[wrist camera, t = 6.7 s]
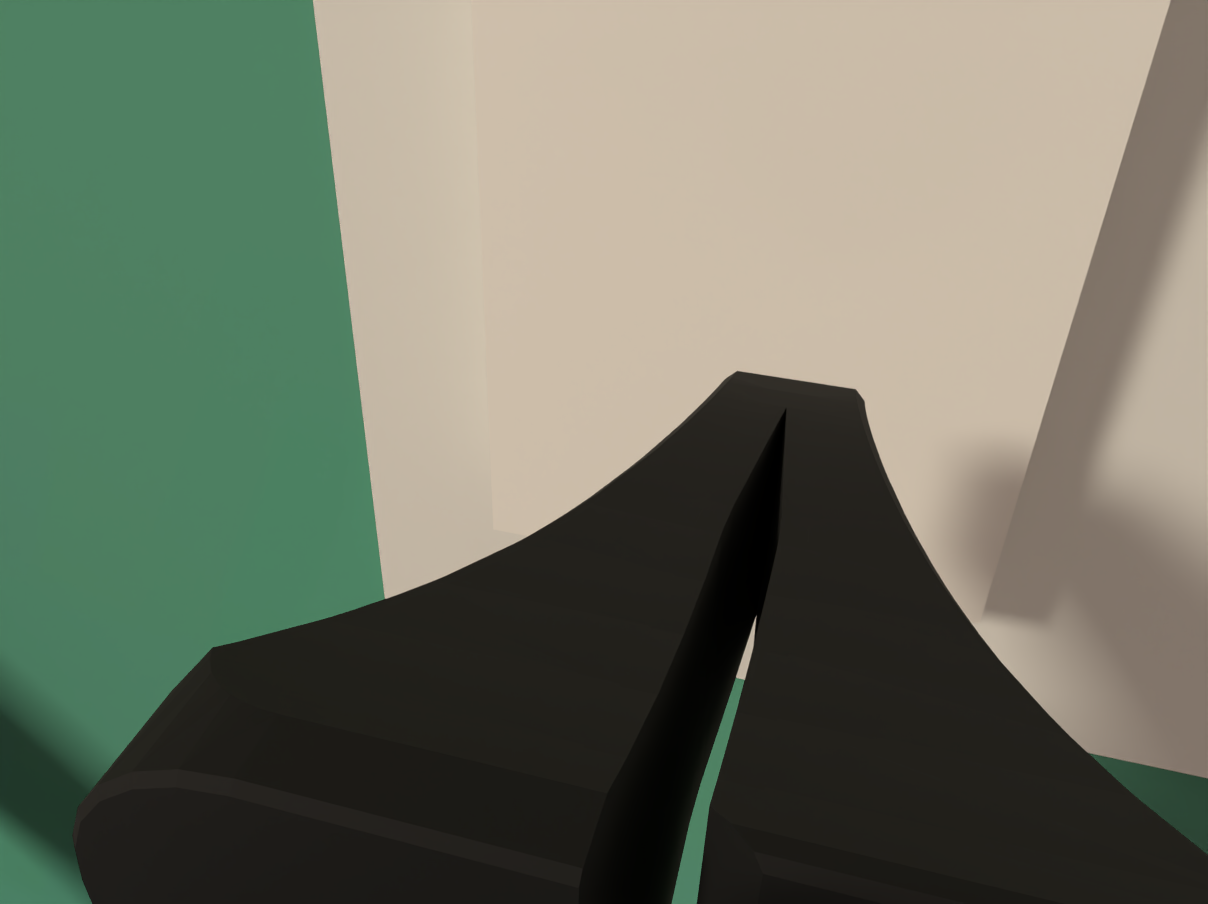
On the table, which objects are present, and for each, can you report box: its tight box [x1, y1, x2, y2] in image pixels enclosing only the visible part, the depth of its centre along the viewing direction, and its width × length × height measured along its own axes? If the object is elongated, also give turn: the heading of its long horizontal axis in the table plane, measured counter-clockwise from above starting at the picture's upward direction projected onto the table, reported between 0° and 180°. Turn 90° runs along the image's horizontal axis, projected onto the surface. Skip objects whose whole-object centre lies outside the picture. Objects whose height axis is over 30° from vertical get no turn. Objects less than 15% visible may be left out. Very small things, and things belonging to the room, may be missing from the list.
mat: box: [313, 0, 1208, 778], centre depth 15 cm, size 22×18×1 cm
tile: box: [471, 0, 1171, 623], centre depth 15 cm, size 2×10×8 cm
